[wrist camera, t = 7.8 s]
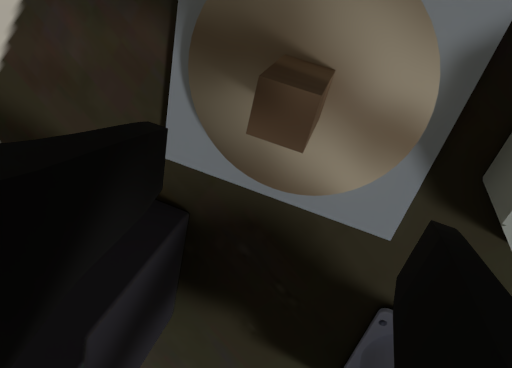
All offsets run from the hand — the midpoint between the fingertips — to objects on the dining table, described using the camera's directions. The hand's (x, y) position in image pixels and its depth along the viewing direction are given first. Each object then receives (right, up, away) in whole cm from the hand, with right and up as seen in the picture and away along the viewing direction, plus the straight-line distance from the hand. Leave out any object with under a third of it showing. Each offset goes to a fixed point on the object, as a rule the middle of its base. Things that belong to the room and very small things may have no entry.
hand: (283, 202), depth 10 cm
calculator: (-8, -5, +18) cm, 20 cm away
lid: (+2, +5, +8) cm, 10 cm away
